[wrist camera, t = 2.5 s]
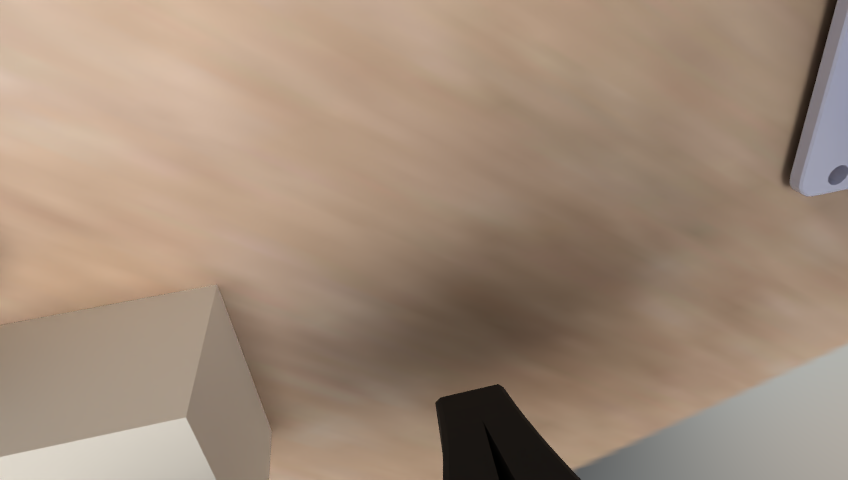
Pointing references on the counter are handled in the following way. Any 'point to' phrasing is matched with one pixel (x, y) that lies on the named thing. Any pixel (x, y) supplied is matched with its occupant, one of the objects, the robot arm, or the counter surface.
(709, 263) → the counter surface
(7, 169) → the counter surface
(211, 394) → the off-white block
